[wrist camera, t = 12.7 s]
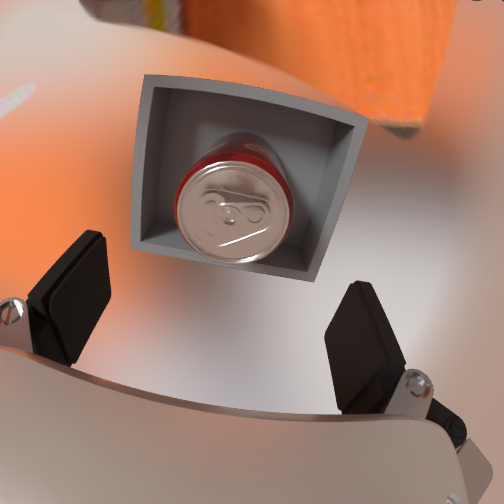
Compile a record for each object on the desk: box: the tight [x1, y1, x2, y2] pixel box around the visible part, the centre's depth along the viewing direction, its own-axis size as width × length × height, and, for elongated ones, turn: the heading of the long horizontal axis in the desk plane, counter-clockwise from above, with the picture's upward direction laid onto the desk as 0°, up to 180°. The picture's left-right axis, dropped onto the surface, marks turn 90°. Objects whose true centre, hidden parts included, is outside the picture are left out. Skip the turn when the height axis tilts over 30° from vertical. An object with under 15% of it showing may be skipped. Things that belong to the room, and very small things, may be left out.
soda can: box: [174, 132, 294, 265], centre depth 21 cm, size 7×7×12 cm
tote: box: [131, 75, 369, 282], centre depth 25 cm, size 18×16×6 cm
